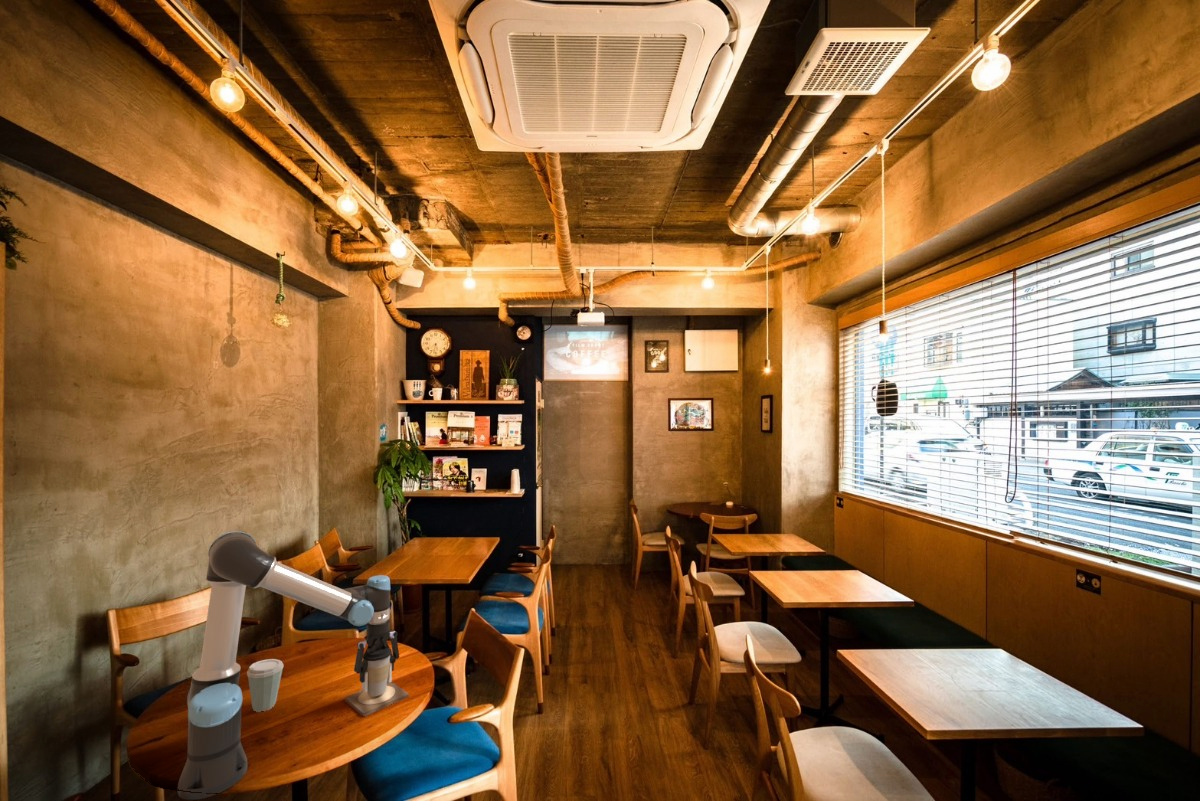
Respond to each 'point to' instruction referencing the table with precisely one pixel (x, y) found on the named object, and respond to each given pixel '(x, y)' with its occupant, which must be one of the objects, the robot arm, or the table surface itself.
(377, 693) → the coffee cup
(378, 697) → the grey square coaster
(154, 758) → the table surface
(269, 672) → the disposable coffee cup
